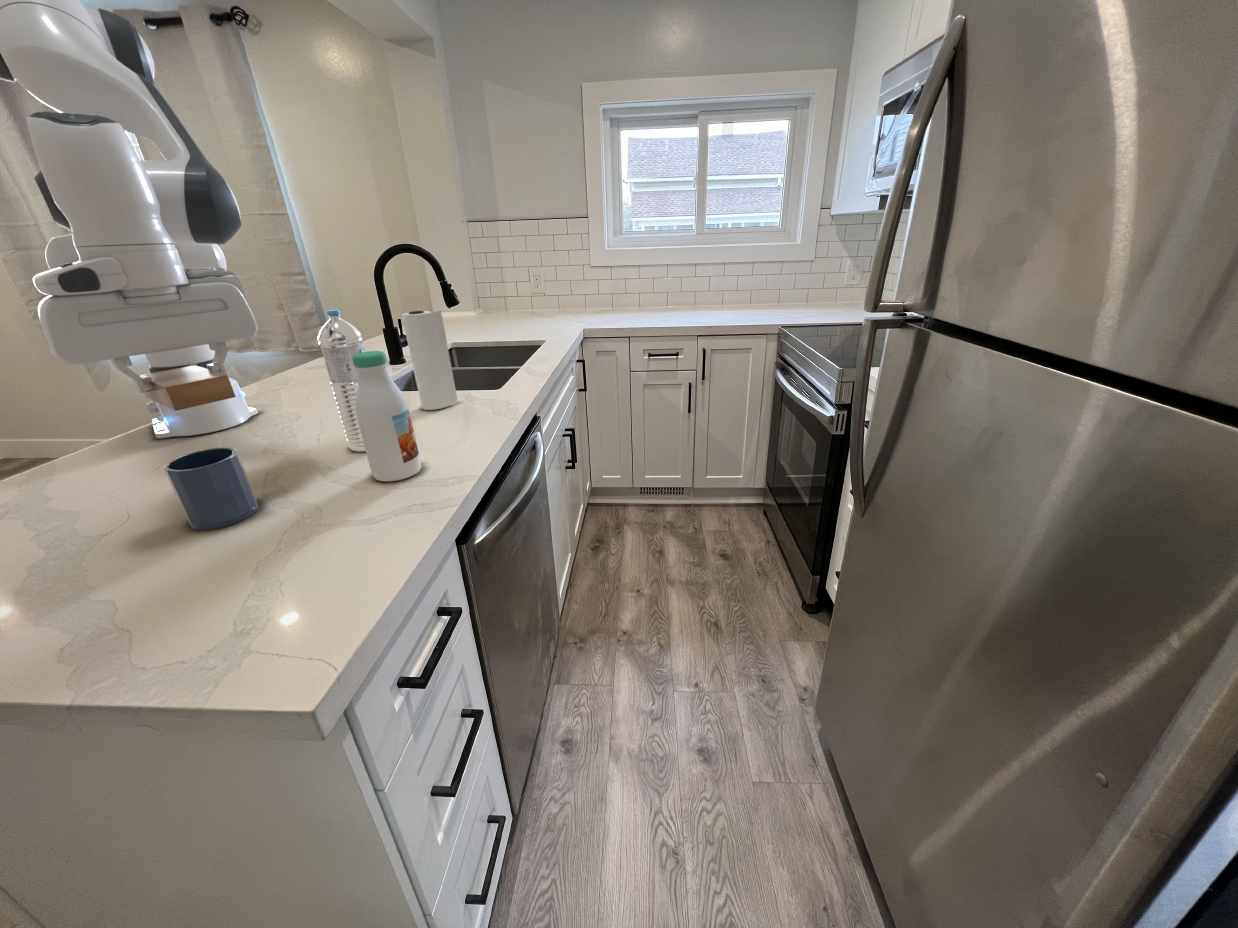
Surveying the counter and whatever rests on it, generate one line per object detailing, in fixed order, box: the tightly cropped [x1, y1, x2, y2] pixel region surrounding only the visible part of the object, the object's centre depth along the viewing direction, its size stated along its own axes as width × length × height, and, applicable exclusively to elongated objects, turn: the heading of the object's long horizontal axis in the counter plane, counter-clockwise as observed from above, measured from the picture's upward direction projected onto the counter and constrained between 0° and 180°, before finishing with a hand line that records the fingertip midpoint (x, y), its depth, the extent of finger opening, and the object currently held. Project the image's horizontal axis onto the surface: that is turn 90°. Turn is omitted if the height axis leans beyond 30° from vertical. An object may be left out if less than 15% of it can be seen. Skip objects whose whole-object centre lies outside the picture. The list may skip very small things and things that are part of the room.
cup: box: [163, 446, 259, 531], centre depth 70 cm, size 8×8×9 cm
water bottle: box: [317, 309, 366, 453], centre depth 90 cm, size 7×7×25 cm
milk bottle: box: [352, 350, 422, 482], centre depth 79 cm, size 8×8×20 cm
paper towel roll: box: [401, 310, 459, 411], centre depth 111 cm, size 7×6×21 cm
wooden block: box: [138, 365, 236, 411], centre depth 66 cm, size 12×6×3 cm, turn 55°
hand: (184, 384), depth 66 cm, fingers closed on wooden block, 6 cm apart
